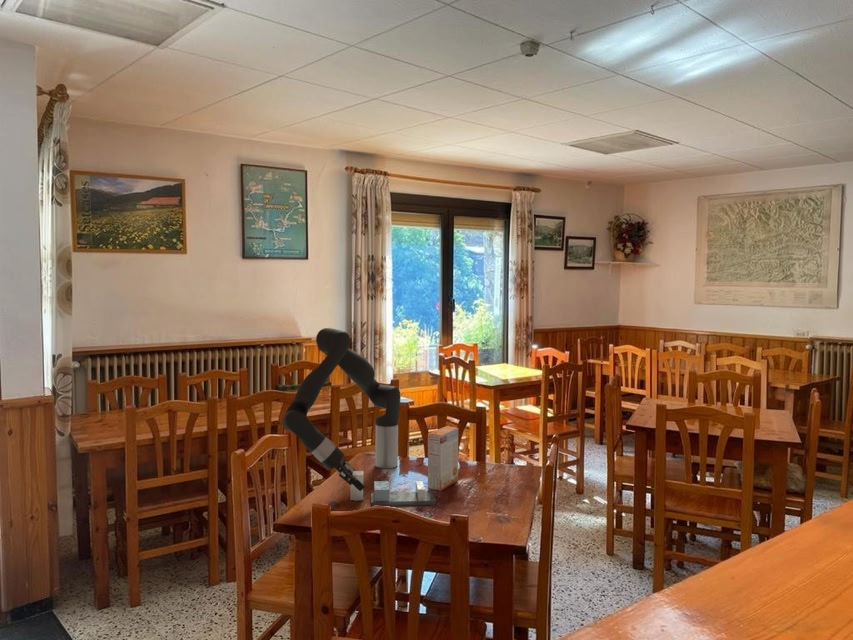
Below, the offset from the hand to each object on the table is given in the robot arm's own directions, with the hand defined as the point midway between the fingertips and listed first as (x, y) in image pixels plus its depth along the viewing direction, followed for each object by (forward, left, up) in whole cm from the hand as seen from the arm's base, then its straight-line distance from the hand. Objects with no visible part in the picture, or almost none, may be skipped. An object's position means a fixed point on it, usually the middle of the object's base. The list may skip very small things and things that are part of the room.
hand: (362, 486), depth 222 cm
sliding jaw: (+4, +7, -2) cm, 8 cm away
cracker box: (-12, +30, -4) cm, 33 cm away
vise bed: (+4, +14, -4) cm, 15 cm away
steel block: (0, -2, -4) cm, 5 cm away
